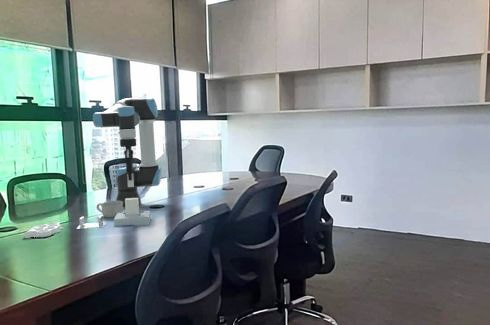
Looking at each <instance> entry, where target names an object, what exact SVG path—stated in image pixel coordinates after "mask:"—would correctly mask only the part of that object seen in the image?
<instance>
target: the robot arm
mask: <svg viewBox="0 0 490 325" xmlns="http://www.w3.org/2000/svg"><path fill="white" fill-rule="evenodd" d="M158 112H159V110H158V106H157V103H156V99H155V98H153V97H129V98H123V99H120V100H118V101H116V102H114V103H113V104H112V106H111V107H110V108H108V109H106V110H105V111H102V112H101V111H100V112H94V113H93V115H92V122H93V126H94V127H95V128H102V129H103V128H117V127H118V130H119V131H118V132H117V134H118V135H119V138H120V139H119V147H120V148H125V150H124V151H123V153H124V160H125V166H124V167H120V168H118V169H117V170H116V182H117V183H116V185H117V186H116V187H117V194H116V198H115V201H122V202H123V207H125V199H126V198H138V201H139V205H140V204H142V199H141V196H140V194H139V192H138V188H143V187H144V188H145V187H146V188H147V187H158V186H159V185H160V183H161V181H162V180H161V179H162V167H161V166H159V163H158V162H156V148H155V147H156V145H155V132H154V130H155V129H154V123H155V121H156V118H157V117H158V115H159V113H158ZM136 126H138V133H139V134H138V135H139V145H140V146H139V148H140V150H139V151H140V159H141V163H140V164H139V165H138V167H137V165H134V164H133V163H134V160H133V159H134V150H133V149H132V147H137V139H136V138H137V134H136V133H137V132H136V131H137V130H136Z"/></svg>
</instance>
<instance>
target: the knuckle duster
mask: <svg viewBox="0 0 490 325" xmlns="http://www.w3.org/2000/svg"><path fill="white" fill-rule="evenodd" d="M63 229H64V227H61V223H60V222H50V223H46V224H45V223H44V224H39V225H34V226H33V227H32V228H30V229H29V230H27V231H26V232H24V233H23V234H22V237H23V238H24V239H31V238H30V237H34V238H35V237H36V238H44V237H50V236H52V235H53V234H57V233H60V232H61V231H62V230H63Z"/></svg>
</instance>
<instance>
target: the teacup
mask: <svg viewBox="0 0 490 325" xmlns="http://www.w3.org/2000/svg"><path fill="white" fill-rule="evenodd" d="M100 206H101V208H100ZM96 209H97V210H98V212H100V213H101V215H103V218H104V217H105V218H107V219H108V218H109V219H110V218H111V219H112V218H113V219H114V218H115V216H116V215H117V213H124V206H123V202H122V201H116V200H109V201H104V202H102V203H100V202H99V203H97V205H96Z"/></svg>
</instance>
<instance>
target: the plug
mask: <svg viewBox="0 0 490 325" xmlns="http://www.w3.org/2000/svg"><path fill="white" fill-rule="evenodd" d="M139 206H140V204H139V201H138V198H126V199H125V206H124V207H125V212H126V216H139V211H140V207H139Z"/></svg>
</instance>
